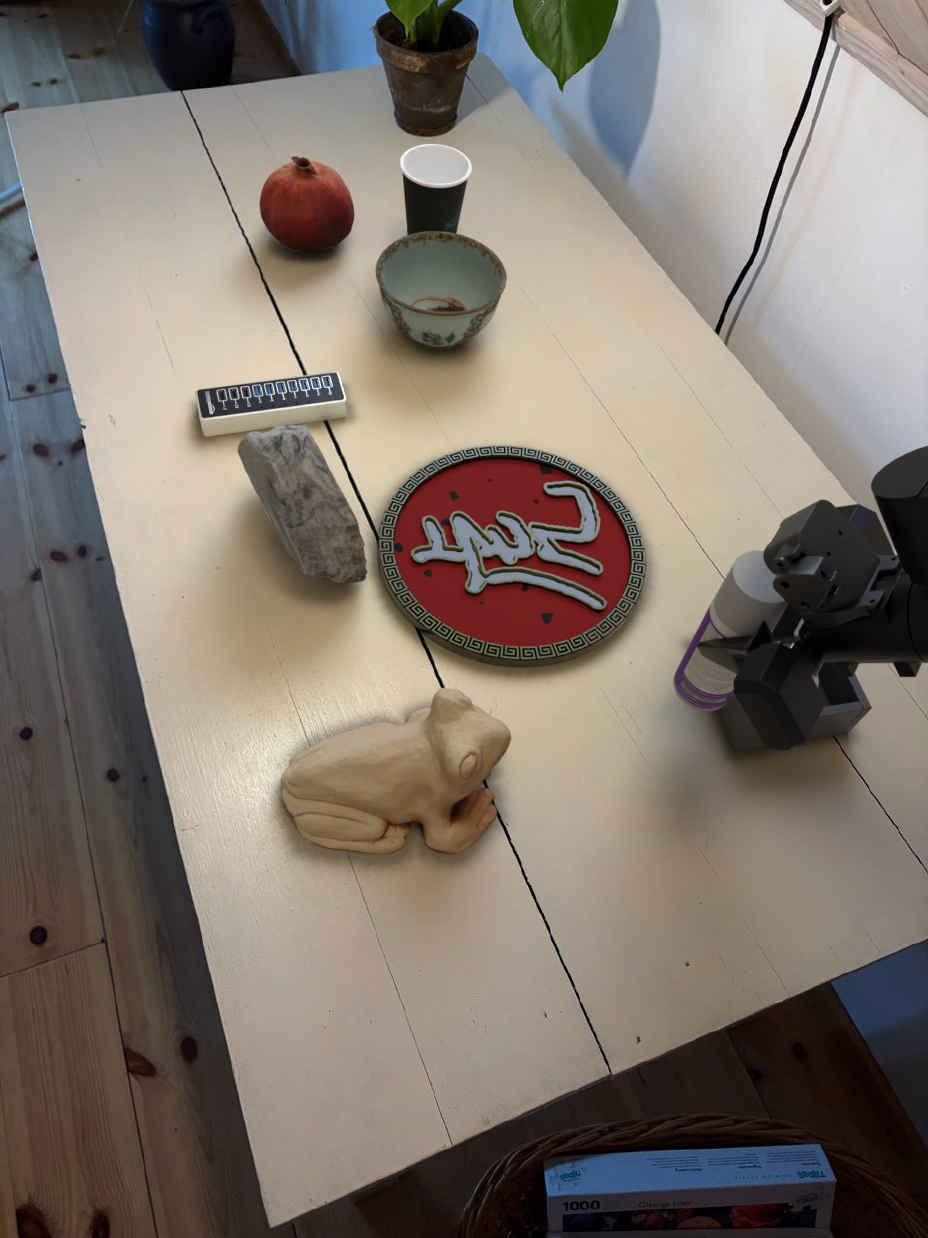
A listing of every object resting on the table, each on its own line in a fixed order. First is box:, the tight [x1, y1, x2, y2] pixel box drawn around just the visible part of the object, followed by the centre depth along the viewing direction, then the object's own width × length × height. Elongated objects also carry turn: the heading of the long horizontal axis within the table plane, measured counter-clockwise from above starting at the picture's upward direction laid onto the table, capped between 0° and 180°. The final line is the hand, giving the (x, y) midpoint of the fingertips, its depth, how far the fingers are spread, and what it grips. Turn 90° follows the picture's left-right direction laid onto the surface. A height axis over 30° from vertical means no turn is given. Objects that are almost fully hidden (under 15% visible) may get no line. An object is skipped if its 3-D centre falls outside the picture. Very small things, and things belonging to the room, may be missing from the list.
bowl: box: [375, 231, 508, 351], centre depth 101 cm, size 14×13×8 cm
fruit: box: [258, 155, 355, 253], centre depth 107 cm, size 11×10×10 cm
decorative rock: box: [237, 424, 368, 585], centre depth 81 cm, size 16×7×15 cm, turn 28°
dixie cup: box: [399, 143, 473, 235], centre depth 108 cm, size 8×8×11 cm
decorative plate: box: [377, 444, 647, 668], centre depth 88 cm, size 25×1×25 cm
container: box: [672, 549, 788, 712], centre depth 70 cm, size 5×5×15 cm
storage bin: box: [717, 619, 872, 753], centre depth 81 cm, size 11×11×5 cm
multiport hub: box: [194, 371, 348, 437], centre depth 95 cm, size 4×14×2 cm, turn 106°
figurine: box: [280, 687, 512, 855], centre depth 71 cm, size 12×17×10 cm
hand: (714, 625), depth 70 cm, fingers closed on container, 5 cm apart
